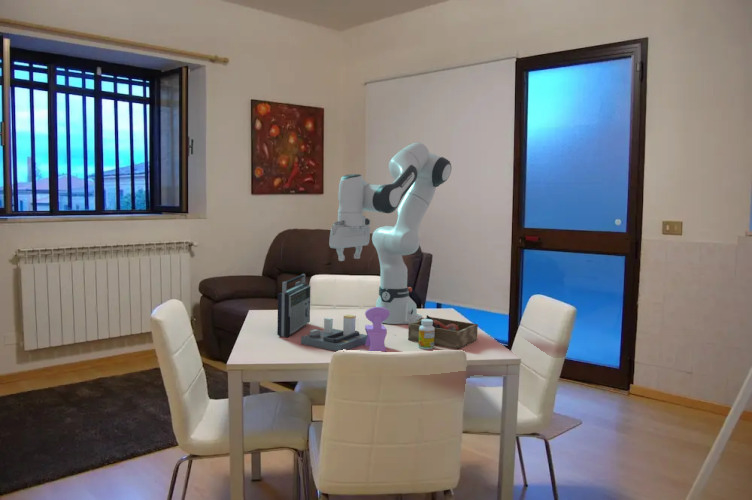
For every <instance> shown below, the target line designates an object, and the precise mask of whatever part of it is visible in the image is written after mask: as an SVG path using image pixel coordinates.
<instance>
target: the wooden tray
mask: <svg viewBox="0 0 752 500" xmlns="http://www.w3.org/2000/svg"><path fill="white" fill-rule="evenodd" d="M430 317H431V318H433V319H434V320H437V321H439V322H440V323H442V324H444V325H445V326H447V325H448V324H455V325H458V324H460V323H461V324H462V325H461V326H460V327H459V331H453V330H447V329H441V328H435V327H434V328H435V335H434V346H436V347H437V346H439V347H443V348H451V349H455V350H460V349H462V348H465V347H466V346H468V345H467V344H469V343H471V344H473V343H474V341H475V342H476V340H477V341H478V327H479V326H478V323H473V322H464V321H459V320H453V319H446V318H440V317H432V316H430ZM422 319H426V317H425V318H421V319H419V320H418V321H416V322H413V323H410V324H408V332H407V333H408V335H407V337H408V338H407V340H408V341H411V342H417V343H419V327H420V326H421V325H422V324H421V321H422ZM472 342H473V343H472ZM465 345H466V346H465ZM469 345H470V344H469Z"/></svg>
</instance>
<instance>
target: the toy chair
mask: <svg viewBox="0 0 752 500" xmlns="http://www.w3.org/2000/svg"><path fill="white" fill-rule="evenodd" d="M389 314H390V313H389V310H387V309H386V308H383V307H376V306H374V307H370V308H368V309H367V310H366V311H365V312H364V315H365V318H366V319H367V320H368V321H369V322H371V323H372V324H365V325H364V327H365V328H364V330H365V332H366V335H367V341H366V343H365V344H364V347H369V349H368V351H387V348H386V346H385V341H386V340H385V339H386V336H387V333H388V332H387V330H388V329H387V328H386V327H385V325H384V324H383V323H382V322H383V321H384V320H386V319H387V318H388V317H389Z"/></svg>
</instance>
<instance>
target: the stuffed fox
mask: <svg viewBox="0 0 752 500" xmlns="http://www.w3.org/2000/svg"><path fill="white" fill-rule="evenodd" d="M431 317H432V316H429V315H428V314H426V317H425V318H426V319H431V320H433V325H432V326H433V327H435V328H441V329H447V330H453V331H459V327H460V326H461V325H462V324H461V323H460V324H458V325H455V324H448V325H447V326H445V325H444V324H442V323H440V322H439V321H437V320H434V319H433V318H431Z"/></svg>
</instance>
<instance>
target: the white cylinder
mask: <svg viewBox="0 0 752 500" xmlns="http://www.w3.org/2000/svg"><path fill="white" fill-rule="evenodd" d="M356 317H357V316H356V315H354V314H345V315H343V322H342V323H343V326H342V328H343V329H342V330H343V335H344V336H346V335H349V334H352V333H355V331H356V320H357V319H356Z"/></svg>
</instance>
